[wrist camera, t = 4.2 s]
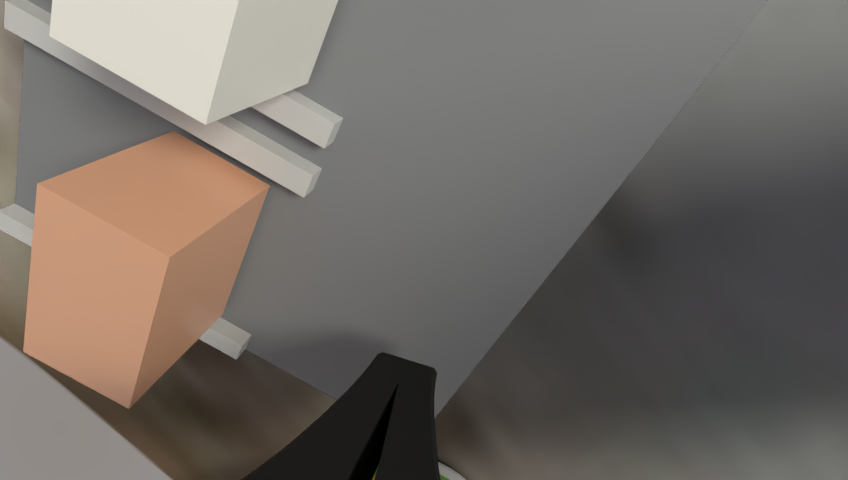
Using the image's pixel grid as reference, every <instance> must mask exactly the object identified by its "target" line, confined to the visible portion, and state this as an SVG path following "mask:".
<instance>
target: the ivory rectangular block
mask: <svg viewBox="0 0 848 480" xmlns="http://www.w3.org/2000/svg"><path fill="white" fill-rule="evenodd" d="M337 2H338V0H52V10H51V22H50V34H49V36H50V37H52V38H54V39H55V40H57V41H59V42H61V43H63V44H64V45H66V46H68V47H70V48H71V49H73V50H75V51H77V52H78V53H80V54H82V55H84V56H85V57H87V58H89V59H91V60H92V61H94V62H96V63H98V64H99V65H101V66H103V67H105V68H106V69H108V70H110V71H112V72H113V73H115V74H117V75H119V76H121V77H122V78H124V79H126V80H128V81H129V82H131V83H133V84H135V85H136V86H138V87H140V88H142V89H143V90H145V91H147V92H149V93H150V94H152V95H154V96H156V97H157V98H159V99H161V100H163V101H164V102H166V103H168V104H170V105H172V106H173V107H175V108H177V109H179V110H180V111H182V112H184V113H186V114H187V115H189V116H191V117H193V118H194V119H196V120H198V121H200V122H201V123H203V124H205V125H206V124H209V123H211V122H214V121H216V120H219V119H221V118H224V117H226V116H229V115H231V114H233V113H236V112H238V111H241V110H243V109H246V108H248V107H251V106H253V105H256V104H258V103H261V102H263V101H266V100H268V99H271V98H273V97H275V96H278V95H280V94H283V93H285V92H288V91H290V90H293V89H295V88H298V87H300V86H303V85H305V84H308V81H309V78H310V76H311V73H312V70H313V68H314V65H315V62H316V59H317V57H318V54H319V51H320V49H321V46H322V43H323V40H324V38H325V35H326V32H327V30H328V27H329V24H330V21H331V19H332V16H333V13H334V11H335V8H336V5H337Z"/></svg>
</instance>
